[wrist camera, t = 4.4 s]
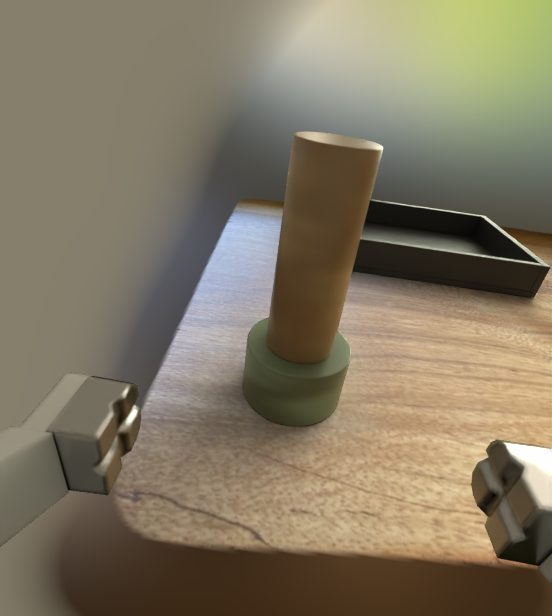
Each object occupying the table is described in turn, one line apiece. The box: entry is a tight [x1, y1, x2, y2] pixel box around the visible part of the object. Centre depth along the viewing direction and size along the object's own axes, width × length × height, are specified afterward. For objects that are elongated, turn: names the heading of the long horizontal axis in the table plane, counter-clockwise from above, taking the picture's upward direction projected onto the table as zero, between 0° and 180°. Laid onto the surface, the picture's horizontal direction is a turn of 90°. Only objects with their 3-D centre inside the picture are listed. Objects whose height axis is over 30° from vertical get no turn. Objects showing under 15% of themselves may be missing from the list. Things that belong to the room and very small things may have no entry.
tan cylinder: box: [243, 132, 383, 426], centre depth 16 cm, size 5×5×12 cm
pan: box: [352, 199, 550, 298], centre depth 38 cm, size 17×14×3 cm
